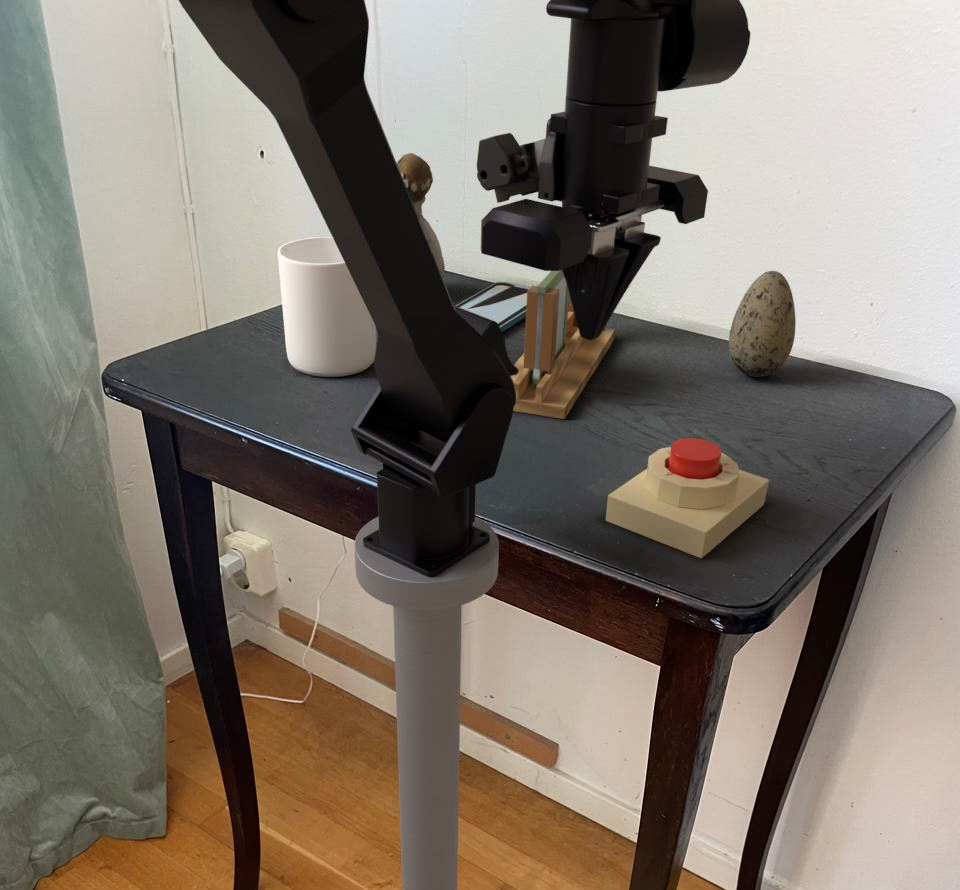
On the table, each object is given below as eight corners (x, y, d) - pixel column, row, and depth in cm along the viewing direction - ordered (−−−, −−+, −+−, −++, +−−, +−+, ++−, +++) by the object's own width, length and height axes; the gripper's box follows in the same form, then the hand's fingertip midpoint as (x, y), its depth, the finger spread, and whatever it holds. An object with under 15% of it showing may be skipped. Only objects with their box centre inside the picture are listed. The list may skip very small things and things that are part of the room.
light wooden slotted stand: (564, 419, 90) (575, 271, 82) (488, 407, 91) (493, 261, 84) (614, 340, 106) (627, 209, 98) (549, 331, 107) (557, 202, 100)
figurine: (411, 280, 120) (409, 143, 111) (456, 293, 117) (457, 153, 108) (364, 297, 115) (358, 154, 106) (409, 311, 111) (407, 165, 103)
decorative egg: (730, 386, 96) (748, 281, 91) (717, 362, 101) (734, 261, 96) (793, 387, 97) (815, 282, 91) (777, 363, 101) (797, 262, 96)
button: (702, 487, 73) (706, 465, 72) (658, 471, 74) (661, 449, 73) (726, 469, 75) (730, 447, 74) (683, 454, 77) (686, 433, 76)
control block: (701, 559, 72) (710, 509, 69) (604, 521, 76) (610, 472, 73) (764, 505, 78) (774, 458, 76) (672, 472, 82) (679, 427, 80)
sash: (549, 388, 92) (555, 288, 86) (522, 383, 92) (527, 284, 87) (573, 352, 99) (581, 258, 93) (548, 349, 99) (554, 255, 94)
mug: (412, 345, 103) (410, 237, 97) (342, 386, 94) (336, 270, 88) (342, 329, 107) (336, 223, 100) (269, 367, 98) (257, 253, 92)
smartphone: (426, 321, 107) (498, 280, 117) (426, 330, 107) (498, 288, 118) (487, 335, 104) (555, 292, 114) (487, 344, 104) (555, 300, 115)
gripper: (590, 70, 75) (574, 283, 83) (416, 98, 63) (418, 343, 71) (726, 89, 69) (693, 316, 78) (562, 124, 57) (545, 387, 66)
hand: (589, 337), depth 73 cm, fingers closed
